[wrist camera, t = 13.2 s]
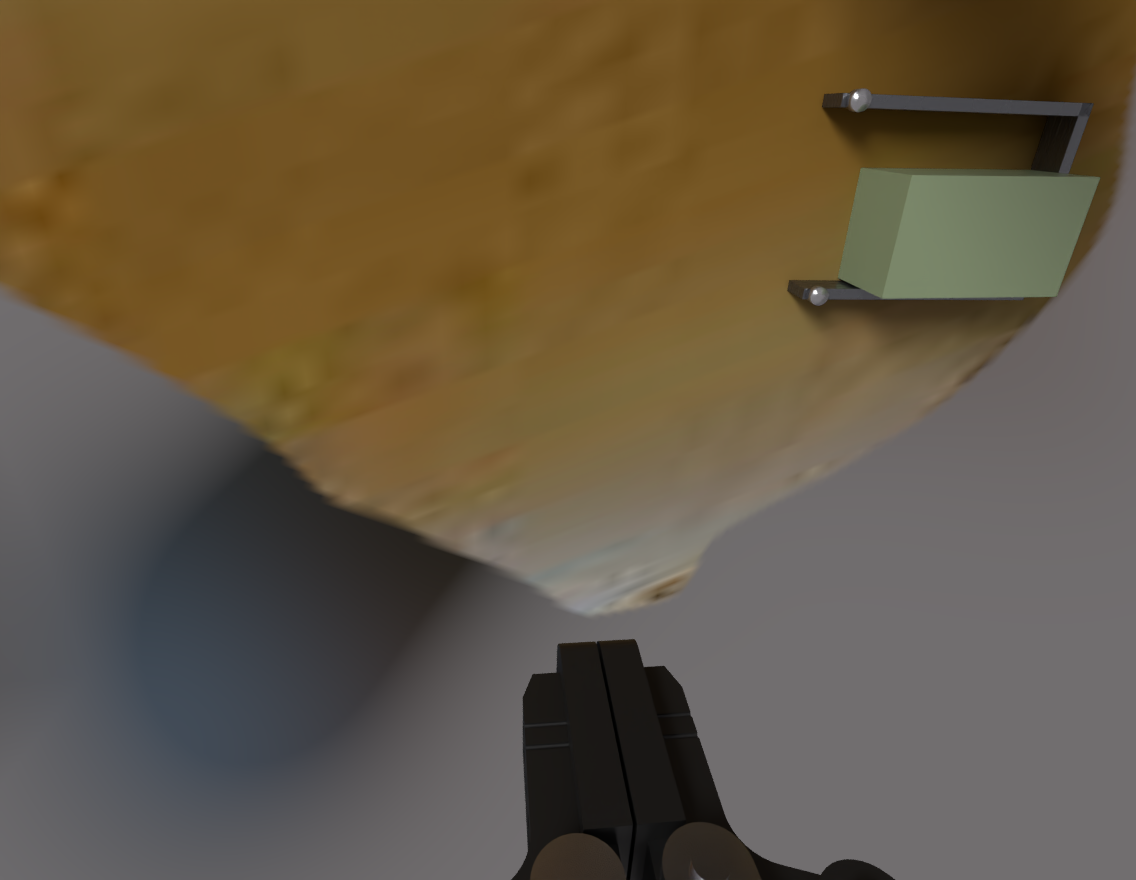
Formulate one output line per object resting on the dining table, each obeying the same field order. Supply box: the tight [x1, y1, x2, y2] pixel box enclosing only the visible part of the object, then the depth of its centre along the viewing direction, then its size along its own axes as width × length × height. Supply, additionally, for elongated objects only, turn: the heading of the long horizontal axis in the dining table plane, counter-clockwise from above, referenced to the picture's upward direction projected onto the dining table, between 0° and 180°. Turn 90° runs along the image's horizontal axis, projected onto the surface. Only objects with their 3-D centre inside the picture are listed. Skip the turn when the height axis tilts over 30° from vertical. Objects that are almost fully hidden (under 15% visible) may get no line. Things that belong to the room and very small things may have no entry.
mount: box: [787, 89, 1093, 306], centre depth 35 cm, size 11×14×3 cm
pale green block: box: [838, 168, 1100, 299], centre depth 35 cm, size 6×10×5 cm, turn 89°
